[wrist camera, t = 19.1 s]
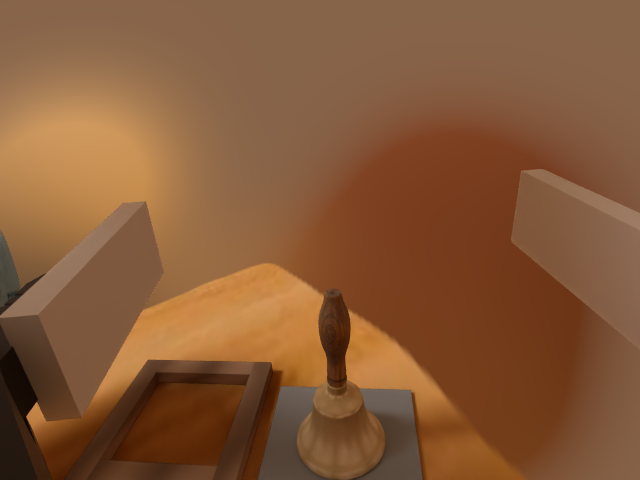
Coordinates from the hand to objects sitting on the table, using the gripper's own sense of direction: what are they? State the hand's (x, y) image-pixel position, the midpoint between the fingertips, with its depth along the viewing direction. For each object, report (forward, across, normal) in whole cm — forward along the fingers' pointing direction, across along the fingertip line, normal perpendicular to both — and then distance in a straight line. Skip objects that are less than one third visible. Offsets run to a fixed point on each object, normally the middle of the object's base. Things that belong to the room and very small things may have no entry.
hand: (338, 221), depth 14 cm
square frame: (+18, -15, -28) cm, 36 cm away
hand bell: (+13, +1, -28) cm, 31 cm away
